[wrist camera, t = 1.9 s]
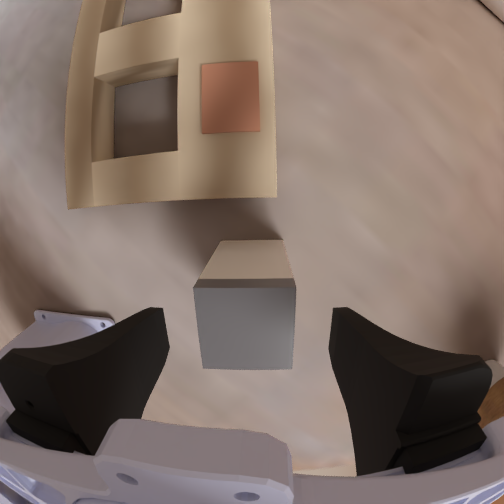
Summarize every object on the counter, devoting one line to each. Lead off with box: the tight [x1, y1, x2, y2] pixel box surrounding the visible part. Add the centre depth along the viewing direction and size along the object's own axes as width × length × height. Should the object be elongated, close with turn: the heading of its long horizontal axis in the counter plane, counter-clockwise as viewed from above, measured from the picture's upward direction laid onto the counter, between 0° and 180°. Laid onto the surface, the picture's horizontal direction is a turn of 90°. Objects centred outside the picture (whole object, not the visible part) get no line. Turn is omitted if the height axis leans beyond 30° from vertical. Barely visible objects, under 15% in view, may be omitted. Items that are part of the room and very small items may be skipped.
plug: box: [193, 240, 296, 370], centre depth 16 cm, size 4×4×8 cm
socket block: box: [65, 0, 277, 209], centre depth 14 cm, size 13×20×3 cm, turn 1°
